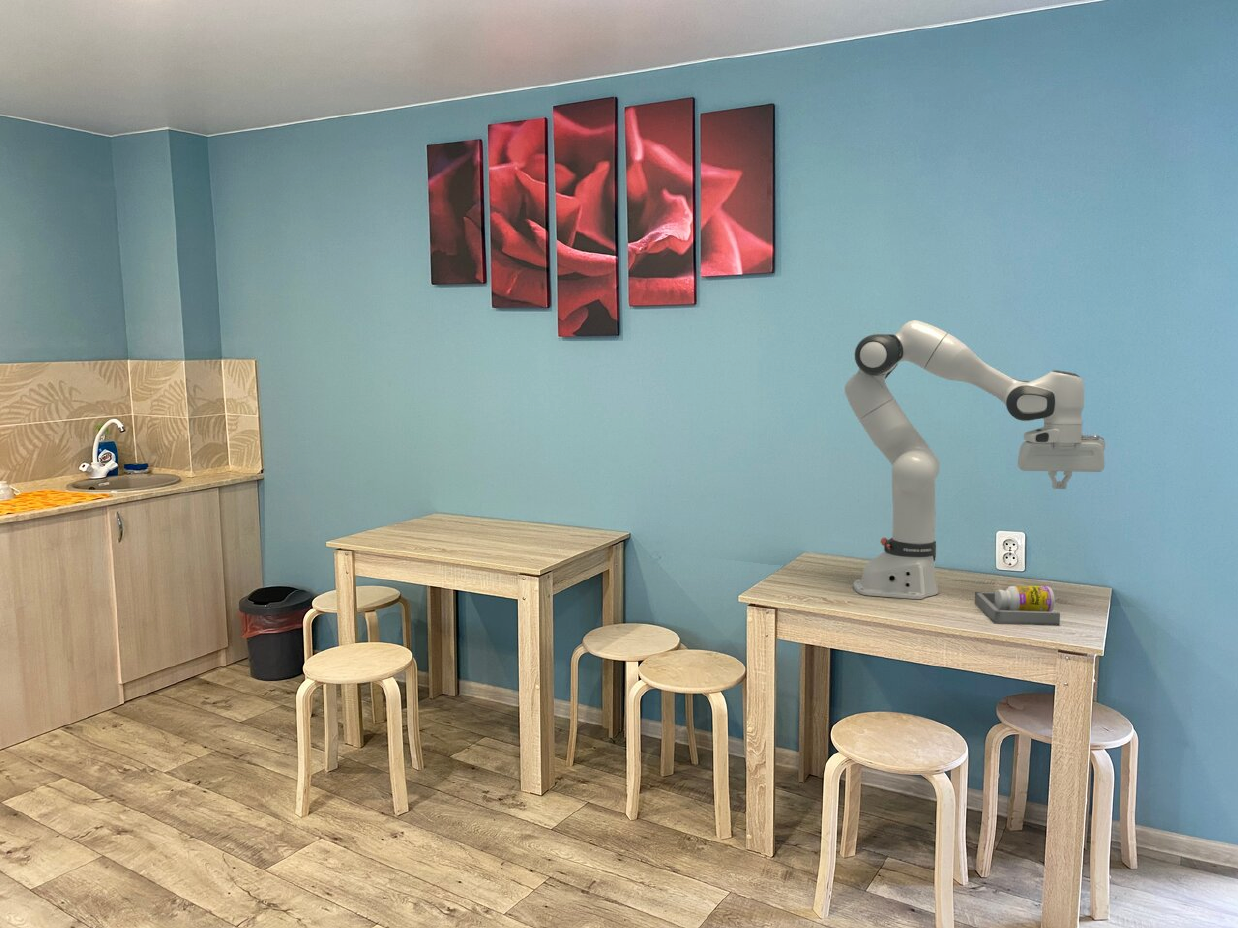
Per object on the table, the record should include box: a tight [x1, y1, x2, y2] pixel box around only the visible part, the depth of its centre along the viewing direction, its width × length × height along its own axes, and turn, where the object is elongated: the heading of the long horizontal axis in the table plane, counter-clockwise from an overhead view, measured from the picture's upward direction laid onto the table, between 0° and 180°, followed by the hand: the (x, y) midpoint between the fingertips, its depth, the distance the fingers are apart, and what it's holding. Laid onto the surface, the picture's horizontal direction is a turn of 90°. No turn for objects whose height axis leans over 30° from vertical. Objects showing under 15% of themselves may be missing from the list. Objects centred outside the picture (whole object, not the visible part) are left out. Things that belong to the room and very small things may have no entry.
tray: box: [974, 591, 1061, 626], centre depth 233 cm, size 15×18×3 cm
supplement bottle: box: [995, 585, 1056, 612], centre depth 232 cm, size 7×7×13 cm
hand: (1059, 488), depth 238 cm, fingers closed
